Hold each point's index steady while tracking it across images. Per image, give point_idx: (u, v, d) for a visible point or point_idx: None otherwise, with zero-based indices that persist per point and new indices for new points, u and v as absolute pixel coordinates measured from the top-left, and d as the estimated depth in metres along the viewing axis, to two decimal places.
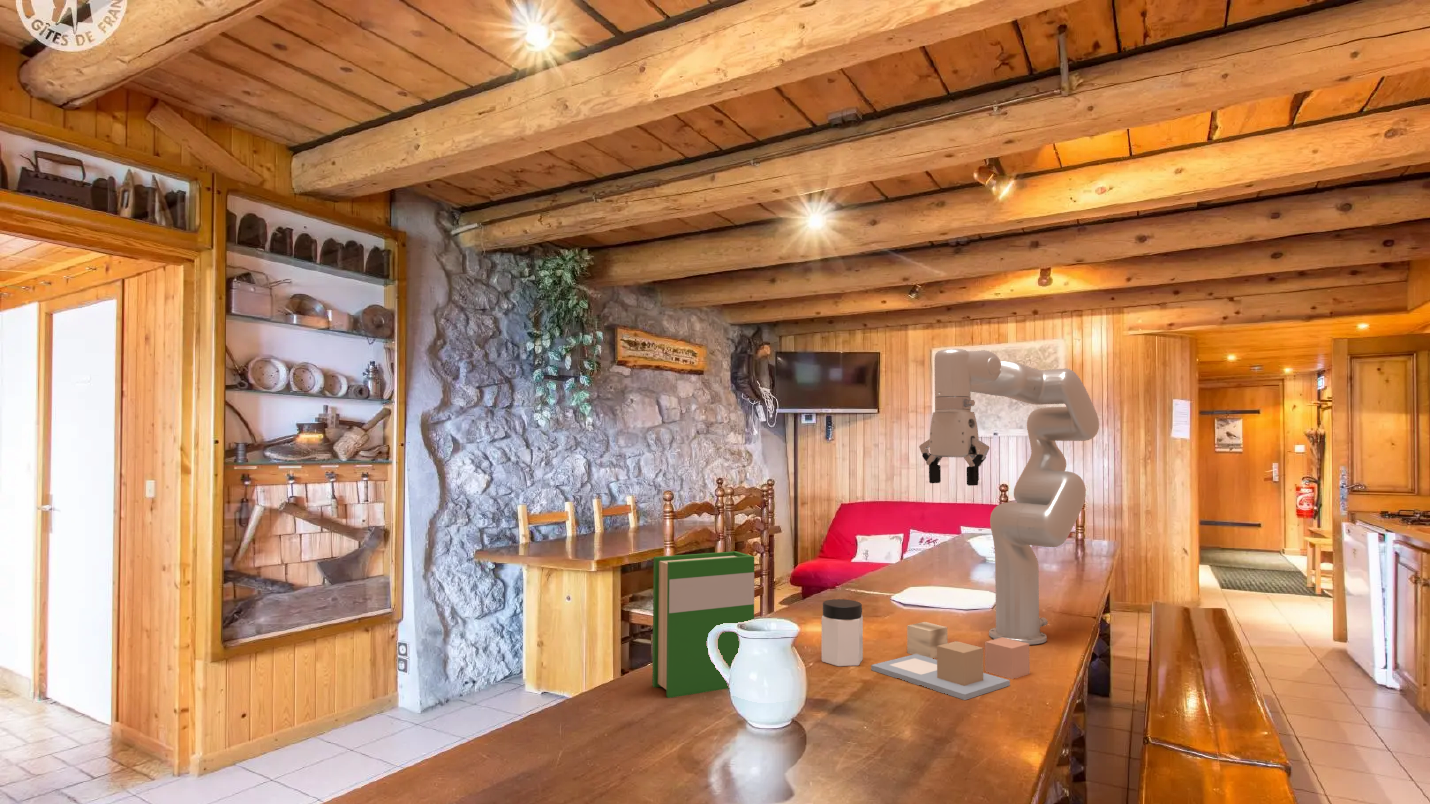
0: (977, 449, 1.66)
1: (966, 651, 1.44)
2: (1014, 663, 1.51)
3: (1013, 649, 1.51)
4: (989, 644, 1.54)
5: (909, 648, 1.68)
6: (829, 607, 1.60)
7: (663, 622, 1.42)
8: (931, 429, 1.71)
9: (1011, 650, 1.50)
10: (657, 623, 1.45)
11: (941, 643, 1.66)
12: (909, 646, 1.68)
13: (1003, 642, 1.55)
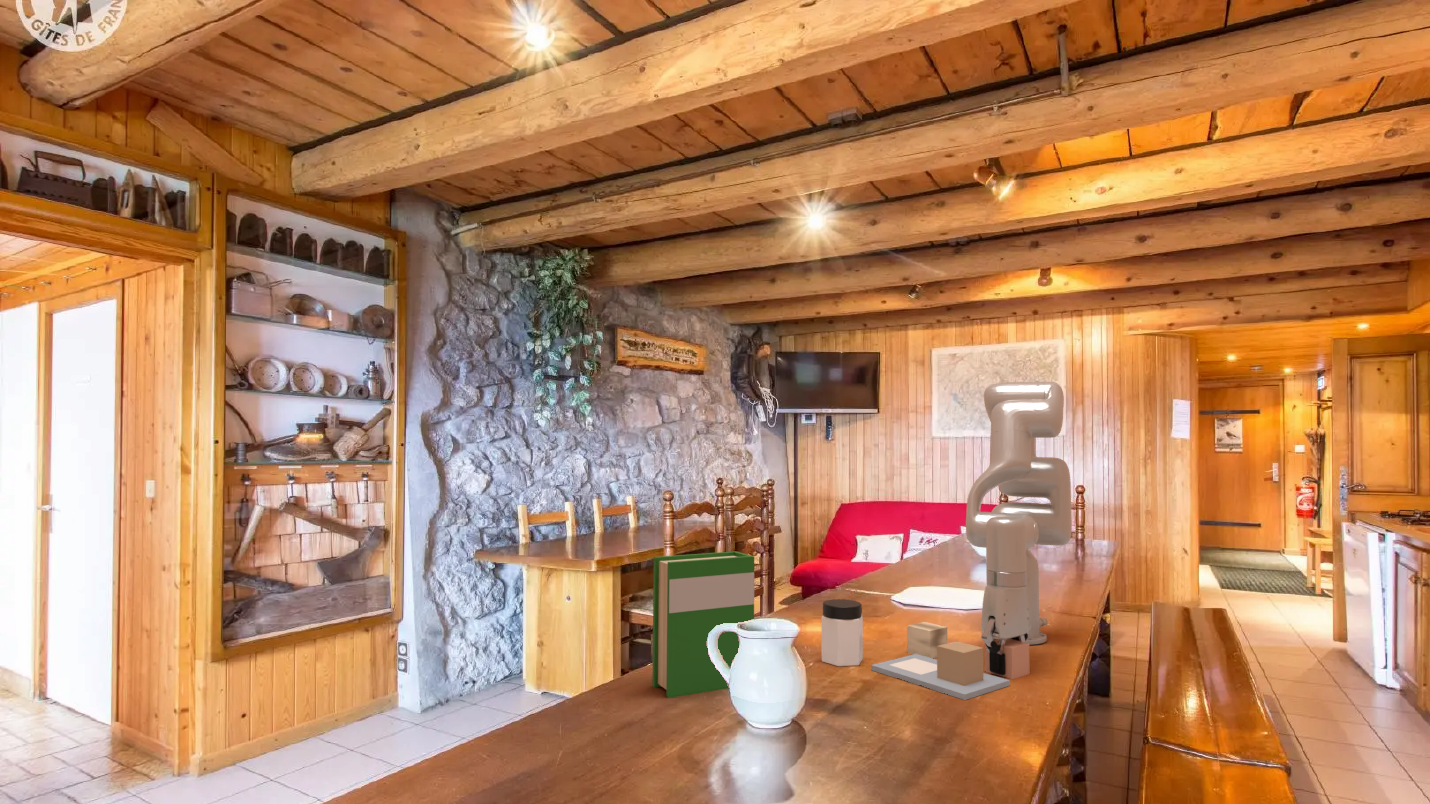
0: None
1: (966, 651, 1.44)
2: (1014, 662, 1.51)
3: (1013, 649, 1.51)
4: None
5: (909, 648, 1.68)
6: (829, 607, 1.60)
7: (663, 622, 1.42)
8: (1004, 609, 1.51)
9: (1011, 650, 1.50)
10: (657, 623, 1.45)
11: (941, 643, 1.66)
12: (909, 646, 1.68)
13: None
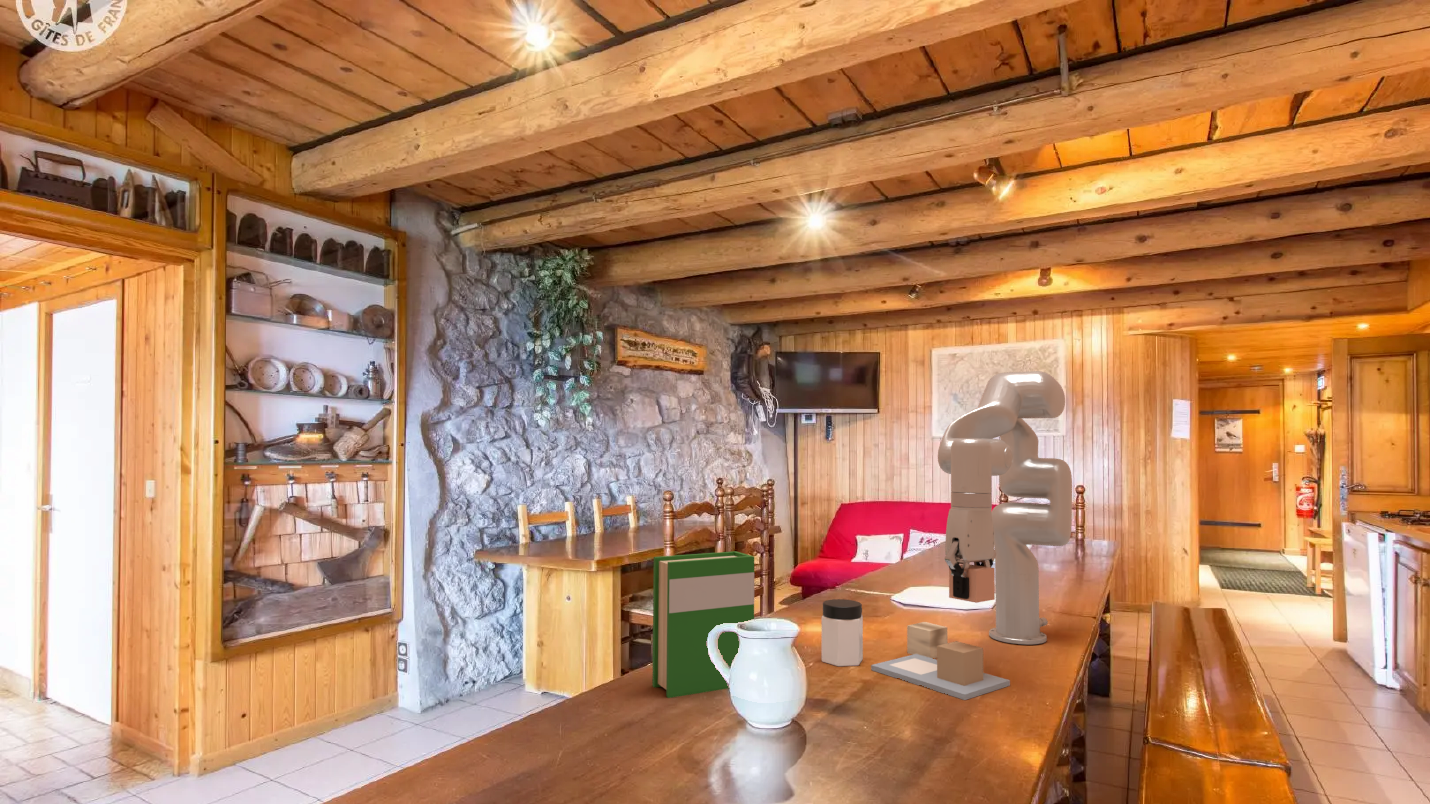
0: None
1: (966, 651, 1.44)
2: (978, 585, 1.45)
3: (977, 571, 1.45)
4: None
5: (909, 648, 1.68)
6: (829, 607, 1.60)
7: (663, 622, 1.42)
8: (968, 530, 1.46)
9: (975, 572, 1.45)
10: (657, 623, 1.45)
11: (941, 643, 1.66)
12: (909, 646, 1.68)
13: None
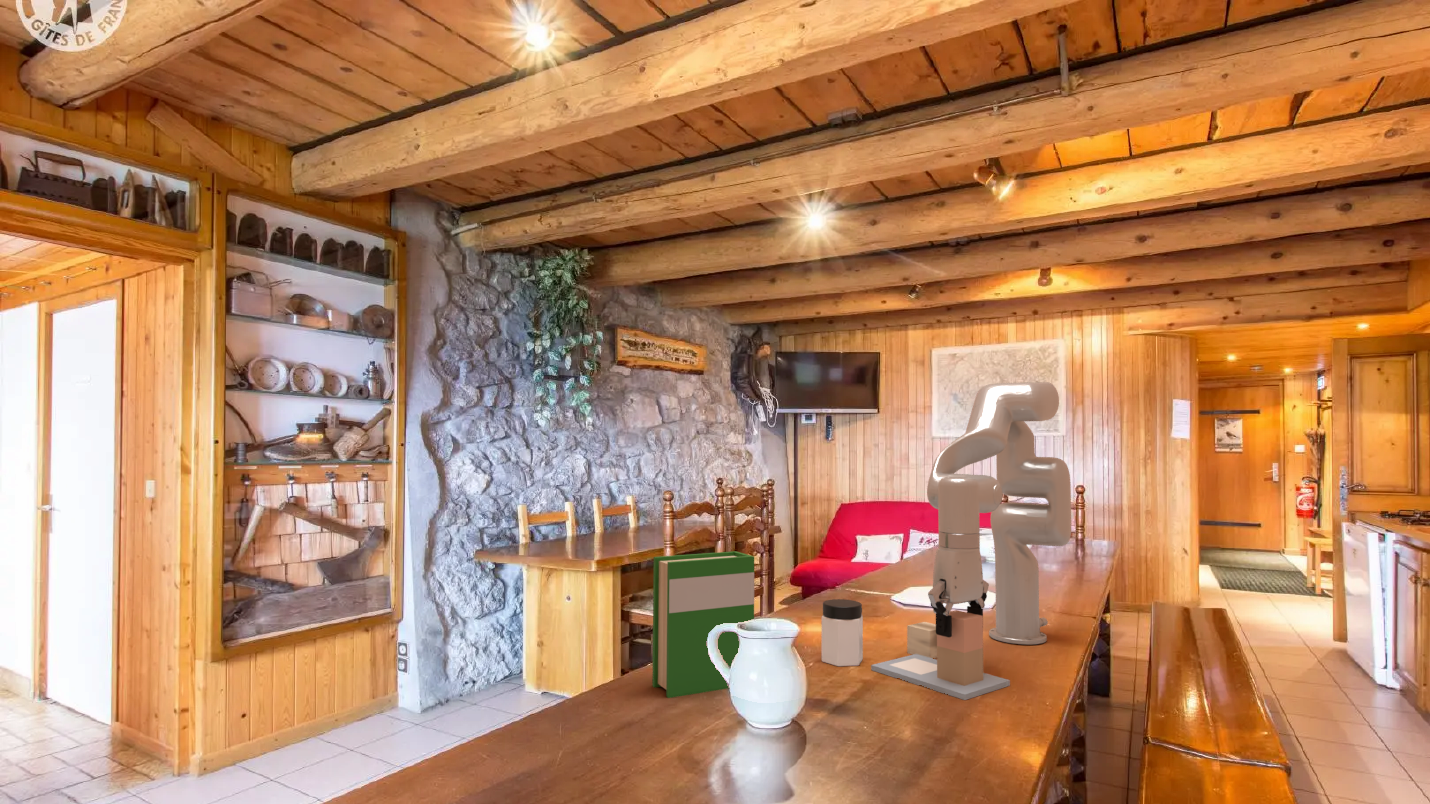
0: None
1: None
2: (966, 635, 1.44)
3: (965, 621, 1.43)
4: None
5: (909, 648, 1.68)
6: (829, 607, 1.60)
7: (663, 622, 1.42)
8: (955, 572, 1.44)
9: (963, 622, 1.43)
10: (657, 623, 1.45)
11: None
12: (909, 646, 1.68)
13: (956, 614, 1.48)
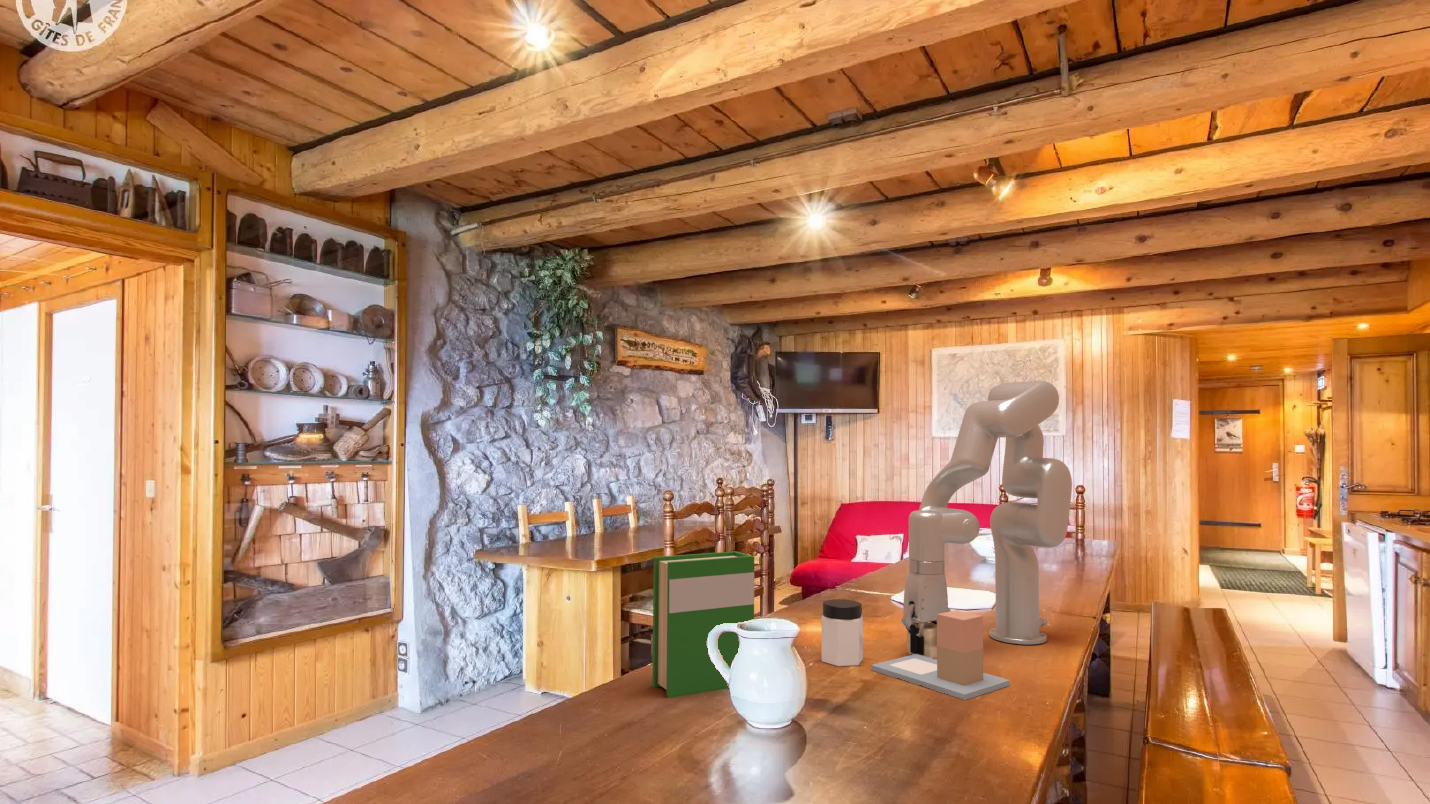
0: None
1: None
2: (966, 635, 1.44)
3: (965, 621, 1.43)
4: (941, 616, 1.47)
5: (909, 648, 1.68)
6: (829, 607, 1.60)
7: (663, 622, 1.42)
8: (922, 595, 1.64)
9: (963, 622, 1.43)
10: (657, 623, 1.45)
11: None
12: (909, 646, 1.68)
13: (956, 614, 1.48)
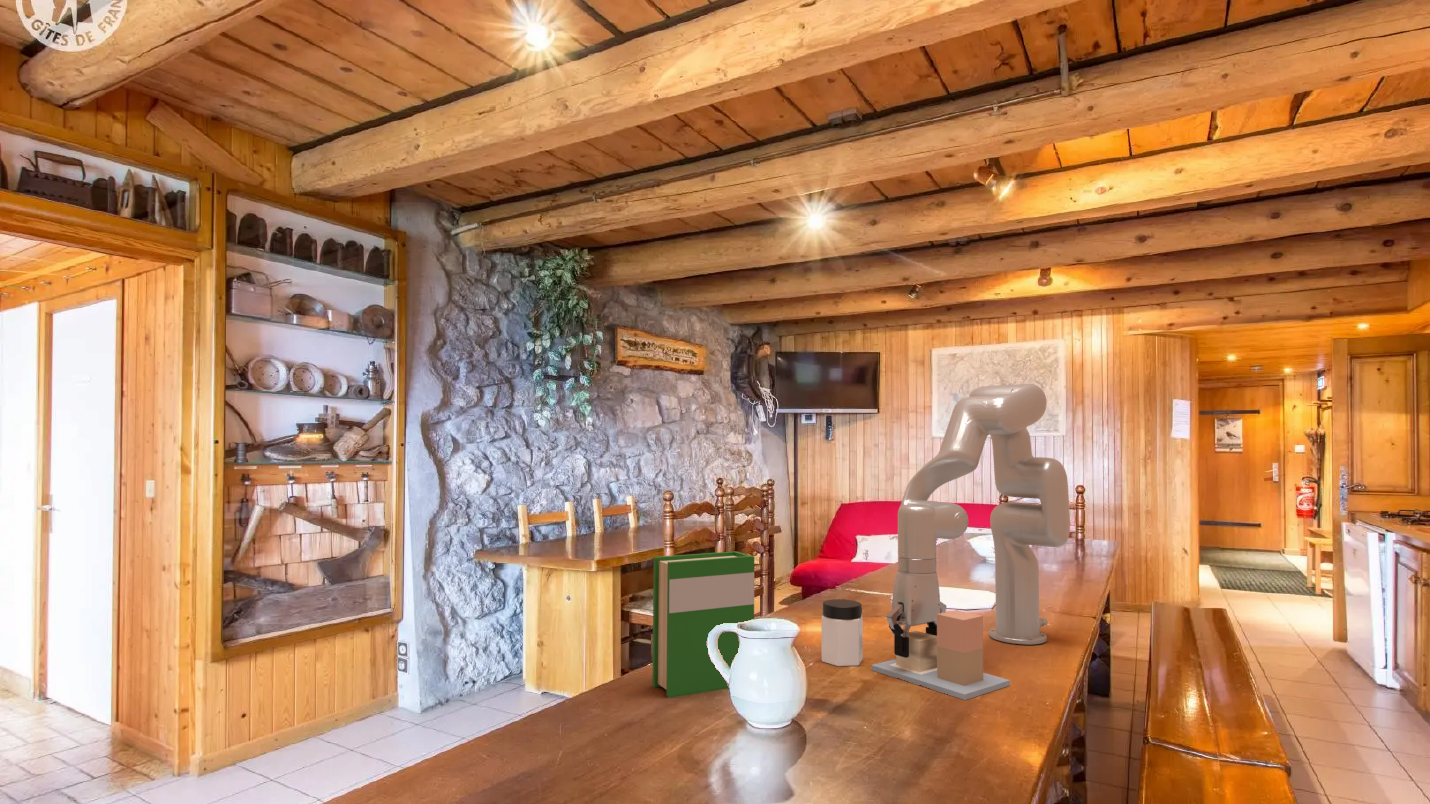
0: None
1: None
2: (966, 635, 1.44)
3: (965, 621, 1.43)
4: (941, 616, 1.47)
5: (898, 660, 1.55)
6: (829, 607, 1.60)
7: (663, 622, 1.42)
8: (912, 596, 1.51)
9: (963, 622, 1.43)
10: (657, 623, 1.45)
11: (932, 654, 1.53)
12: (898, 657, 1.55)
13: (956, 614, 1.48)
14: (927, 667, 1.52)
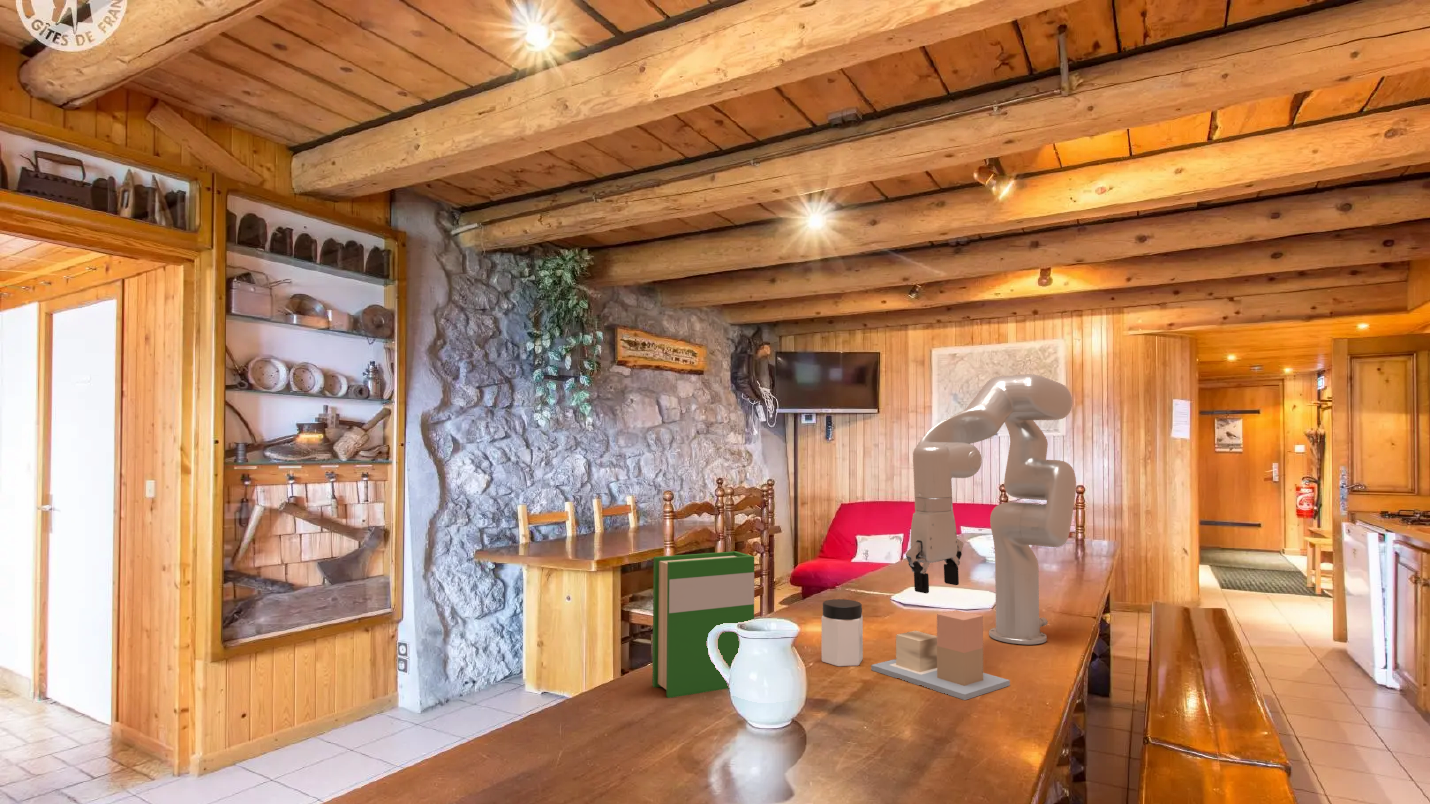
0: None
1: None
2: (966, 635, 1.44)
3: (965, 621, 1.43)
4: (941, 616, 1.47)
5: (898, 660, 1.55)
6: (829, 607, 1.60)
7: (663, 622, 1.42)
8: (930, 534, 1.55)
9: (963, 622, 1.43)
10: (657, 623, 1.45)
11: (932, 654, 1.53)
12: (898, 657, 1.55)
13: (956, 614, 1.48)
14: (927, 667, 1.52)
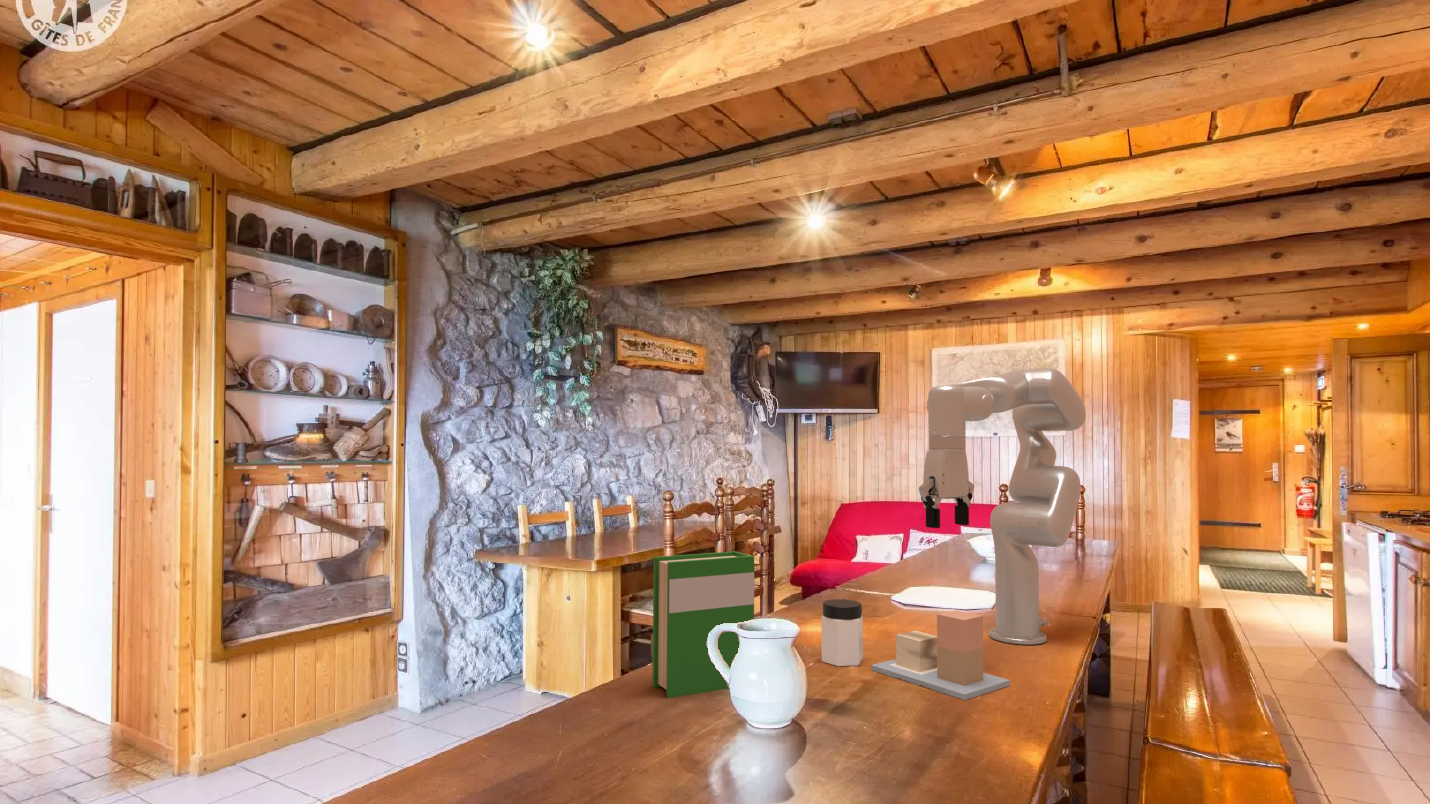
0: None
1: None
2: (966, 635, 1.44)
3: (965, 621, 1.43)
4: (941, 616, 1.47)
5: (898, 660, 1.55)
6: (829, 607, 1.60)
7: (663, 622, 1.42)
8: (943, 469, 1.58)
9: (963, 622, 1.43)
10: (657, 623, 1.45)
11: (932, 654, 1.53)
12: (898, 657, 1.55)
13: (956, 614, 1.48)
14: (927, 667, 1.52)
